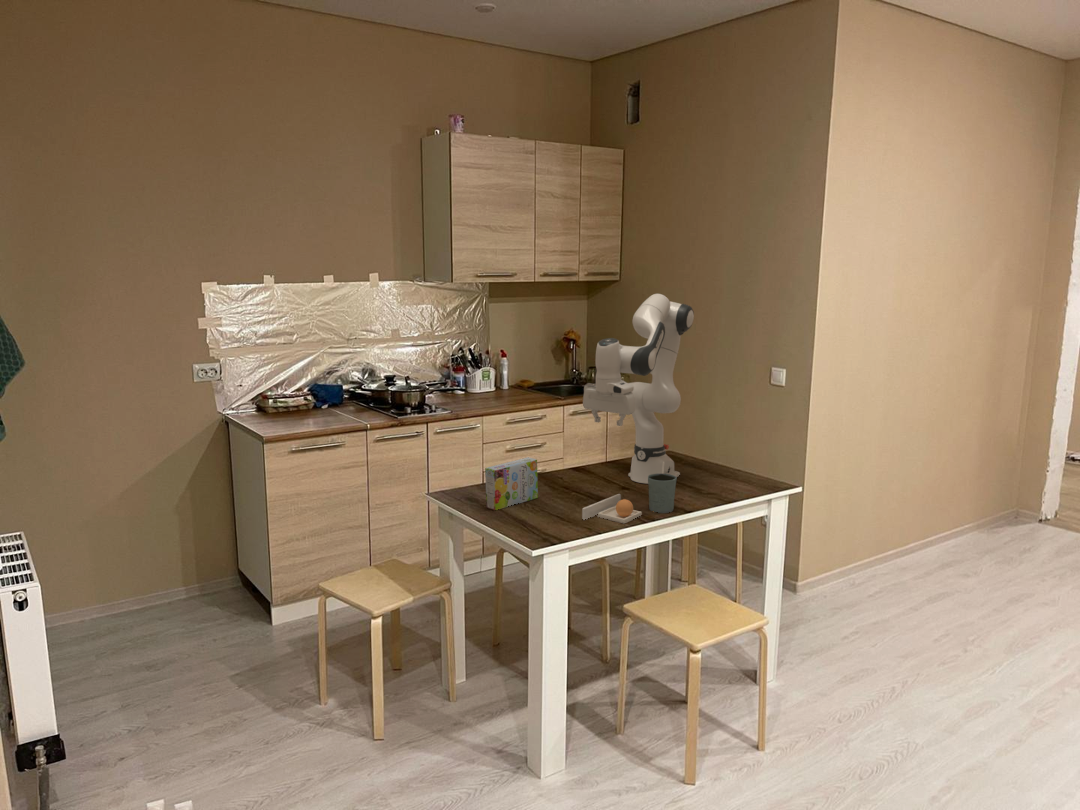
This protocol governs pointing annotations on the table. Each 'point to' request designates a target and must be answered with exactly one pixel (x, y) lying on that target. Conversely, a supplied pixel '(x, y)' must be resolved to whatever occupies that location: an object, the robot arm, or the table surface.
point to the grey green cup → (661, 492)
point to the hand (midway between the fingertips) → (608, 423)
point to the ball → (624, 508)
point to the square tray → (614, 516)
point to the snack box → (511, 483)
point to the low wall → (600, 506)
